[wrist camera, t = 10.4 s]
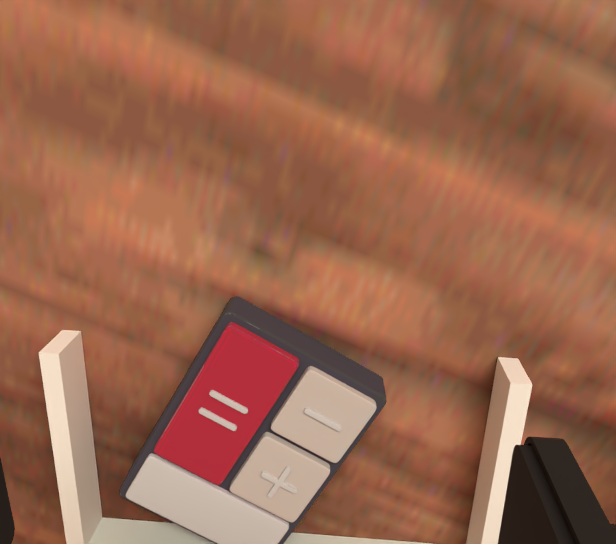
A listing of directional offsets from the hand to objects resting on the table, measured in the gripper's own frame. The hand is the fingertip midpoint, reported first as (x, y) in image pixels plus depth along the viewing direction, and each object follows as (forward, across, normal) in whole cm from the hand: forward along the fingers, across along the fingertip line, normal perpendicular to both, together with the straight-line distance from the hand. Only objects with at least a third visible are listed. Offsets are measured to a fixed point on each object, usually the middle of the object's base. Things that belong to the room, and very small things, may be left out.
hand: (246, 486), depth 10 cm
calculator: (+24, +4, +16) cm, 29 cm away
